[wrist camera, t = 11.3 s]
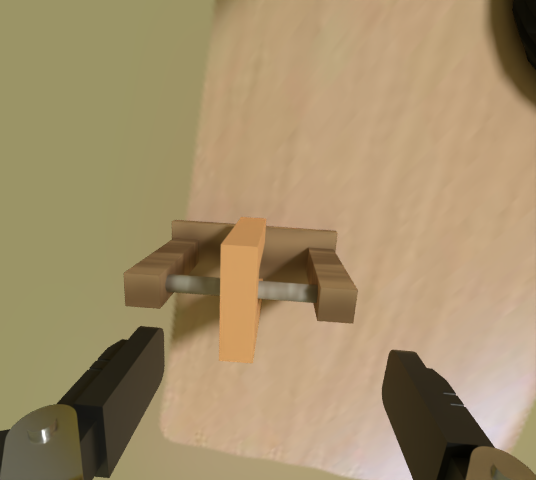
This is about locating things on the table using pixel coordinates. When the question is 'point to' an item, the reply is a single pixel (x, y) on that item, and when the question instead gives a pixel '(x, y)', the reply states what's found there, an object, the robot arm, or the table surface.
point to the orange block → (240, 290)
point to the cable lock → (526, 26)
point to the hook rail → (271, 269)
